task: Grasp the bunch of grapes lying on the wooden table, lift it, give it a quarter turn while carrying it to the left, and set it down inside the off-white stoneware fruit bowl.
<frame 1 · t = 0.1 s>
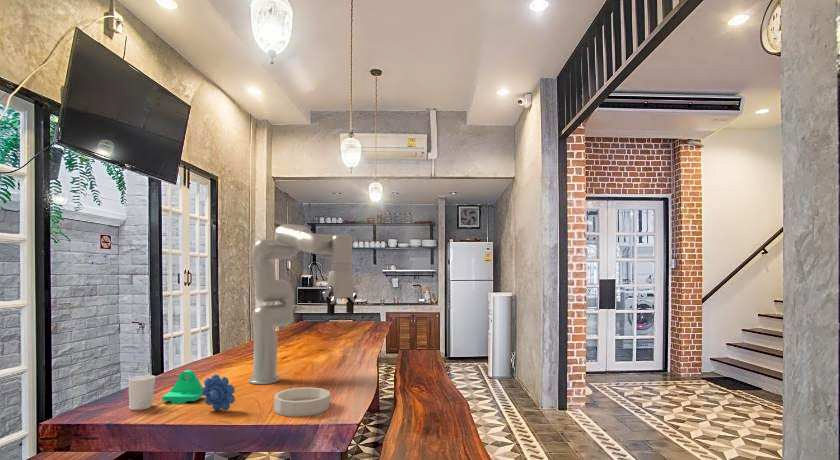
hand: (340, 314, 177), 31 cm above the table, tool pointing down, fingers open, 9 cm apart
white cup: (140, 407, 164), on the table
grapes: (216, 412, 160), on the table
camera mount: (183, 401, 172), on the table
fruit bowl: (302, 408, 164), on the table
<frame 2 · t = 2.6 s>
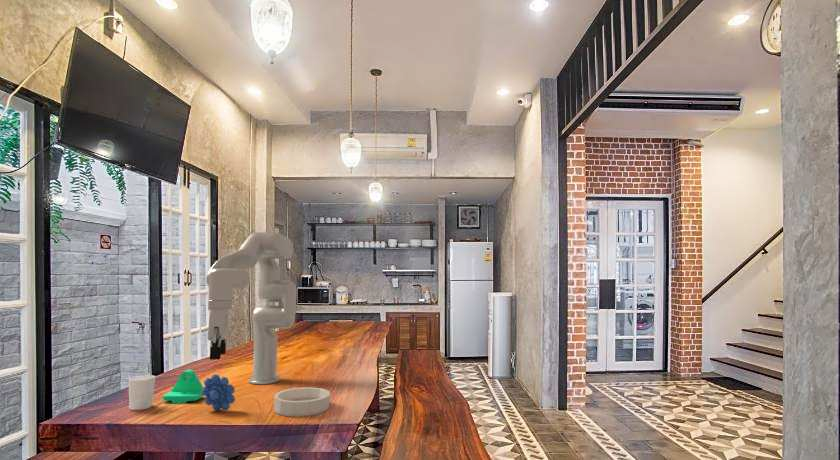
hand: (217, 356, 161), 18 cm above the table, tool pointing down, fingers open, 9 cm apart
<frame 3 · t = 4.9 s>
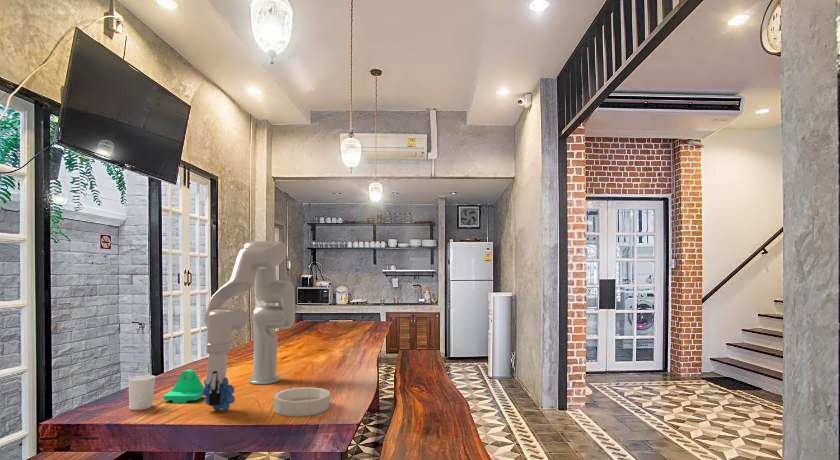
hand: (216, 401, 160), 3 cm above the table, tool pointing down, fingers closed on grapes, 6 cm apart
grapes: (216, 412, 160), on the table, touching gripper
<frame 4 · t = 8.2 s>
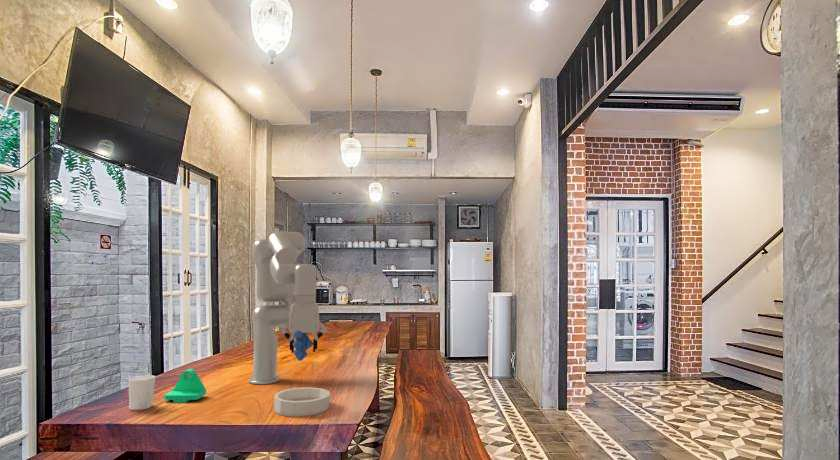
hand: (303, 351, 166), 19 cm above the table, tool pointing down, fingers closed on grapes, 6 cm apart
grapes: (303, 361, 165), point 16 cm above the table, touching gripper
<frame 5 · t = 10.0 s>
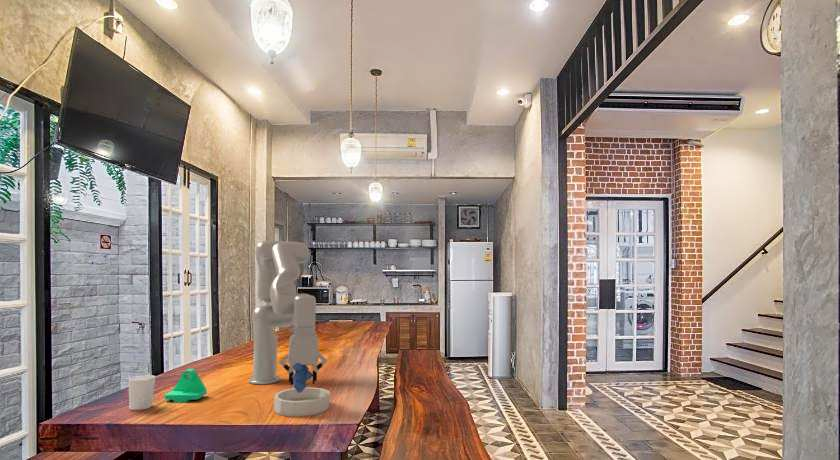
hand: (302, 383, 165), 9 cm above the table, tool pointing down, fingers closed on grapes, 6 cm apart
grapes: (302, 393, 165), point 5 cm above the table, touching gripper
when the fingers open (6 cm above the table, at t = 11.6 s): grapes stays where it is, resting on fruit bowl.
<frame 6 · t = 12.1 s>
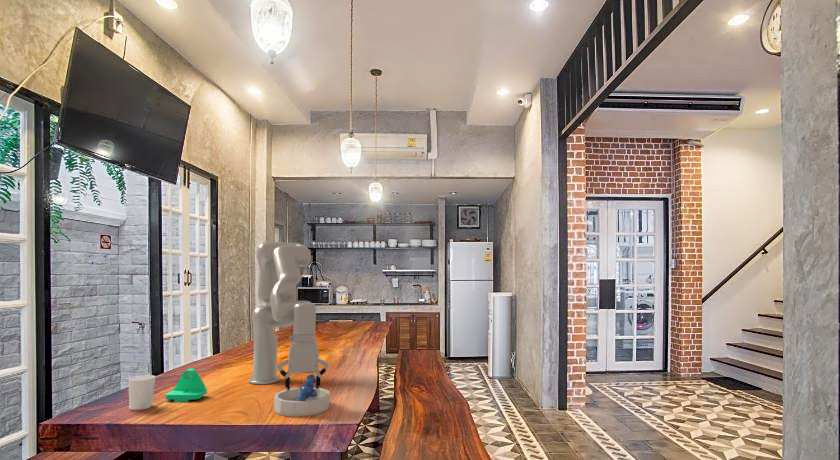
hand: (302, 388, 165), 7 cm above the table, tool pointing down, fingers open, 9 cm apart
grapes: (302, 404, 164), point 1 cm above the table, touching fruit bowl, gripper
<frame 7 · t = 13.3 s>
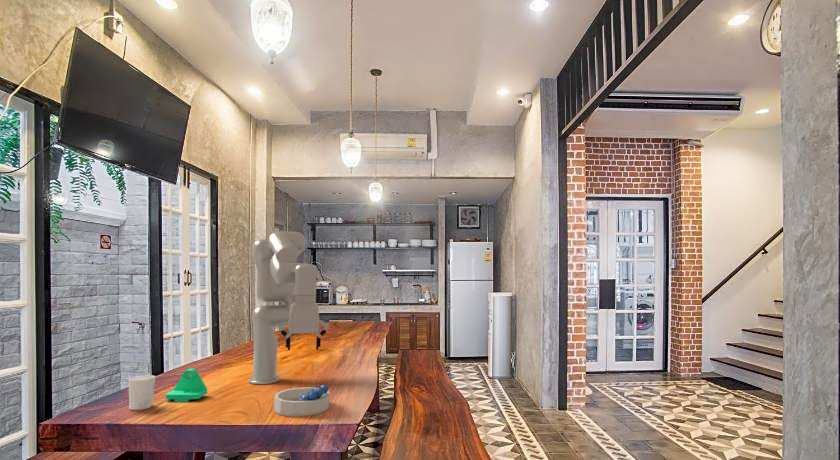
hand: (303, 349, 166), 20 cm above the table, tool pointing down, fingers open, 9 cm apart
grapes: (302, 403, 165), point 1 cm above the table, touching fruit bowl
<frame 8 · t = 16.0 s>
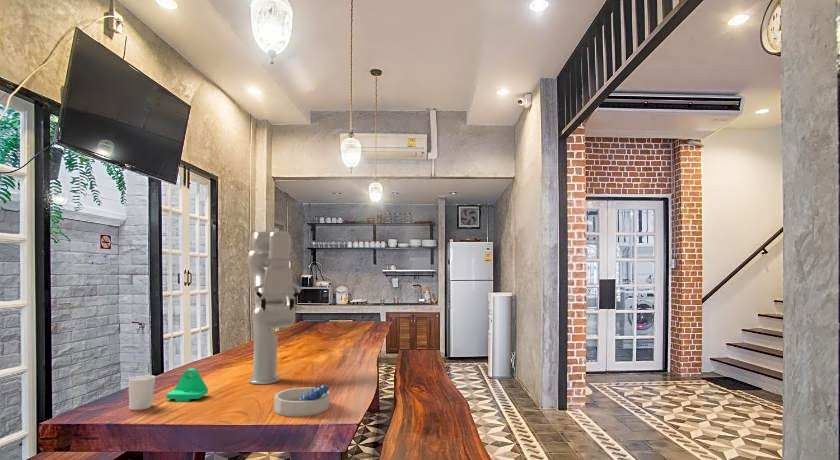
hand: (277, 309, 179), 32 cm above the table, tool pointing down, fingers open, 9 cm apart
at the end: grapes inside the target area on the fruit bowl (0.7 cm from its centre), point 1.5 cm above the fruit bowl's base; the gripper is holding nothing; grapes touching fruit bowl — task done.
